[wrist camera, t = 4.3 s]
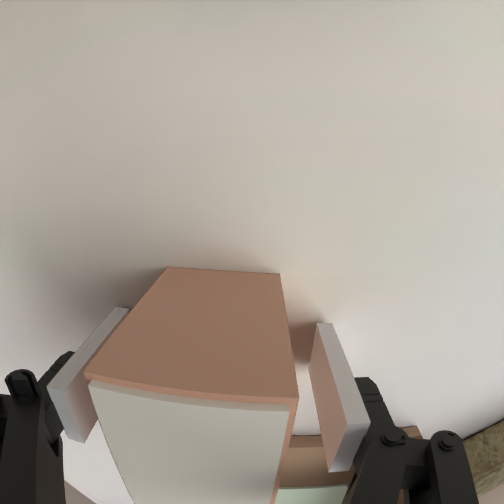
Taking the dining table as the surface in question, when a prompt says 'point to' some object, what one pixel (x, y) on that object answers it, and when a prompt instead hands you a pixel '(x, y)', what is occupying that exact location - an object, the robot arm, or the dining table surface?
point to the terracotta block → (199, 389)
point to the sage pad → (311, 494)
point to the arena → (319, 463)
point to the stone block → (486, 458)
